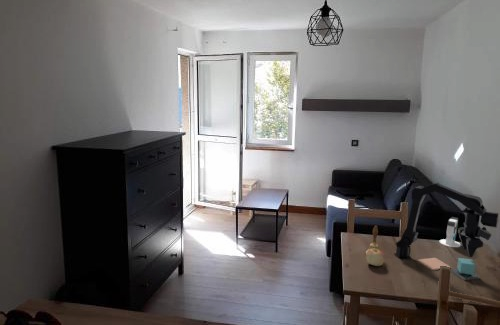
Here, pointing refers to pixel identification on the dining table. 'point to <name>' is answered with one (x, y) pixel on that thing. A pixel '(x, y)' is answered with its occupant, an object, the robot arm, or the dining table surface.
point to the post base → (465, 275)
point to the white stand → (451, 234)
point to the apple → (375, 257)
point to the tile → (433, 263)
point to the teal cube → (466, 266)
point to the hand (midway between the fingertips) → (467, 253)
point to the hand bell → (374, 240)
